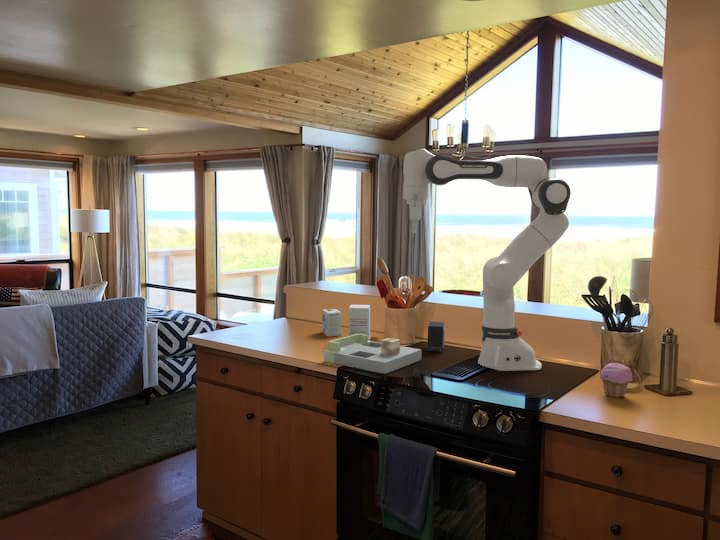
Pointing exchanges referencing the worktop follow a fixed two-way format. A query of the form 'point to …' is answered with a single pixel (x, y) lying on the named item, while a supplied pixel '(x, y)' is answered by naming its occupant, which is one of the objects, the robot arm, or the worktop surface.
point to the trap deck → (368, 354)
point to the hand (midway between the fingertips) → (415, 232)
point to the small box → (436, 336)
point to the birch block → (390, 346)
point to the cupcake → (615, 379)
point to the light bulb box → (331, 322)
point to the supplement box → (359, 320)
